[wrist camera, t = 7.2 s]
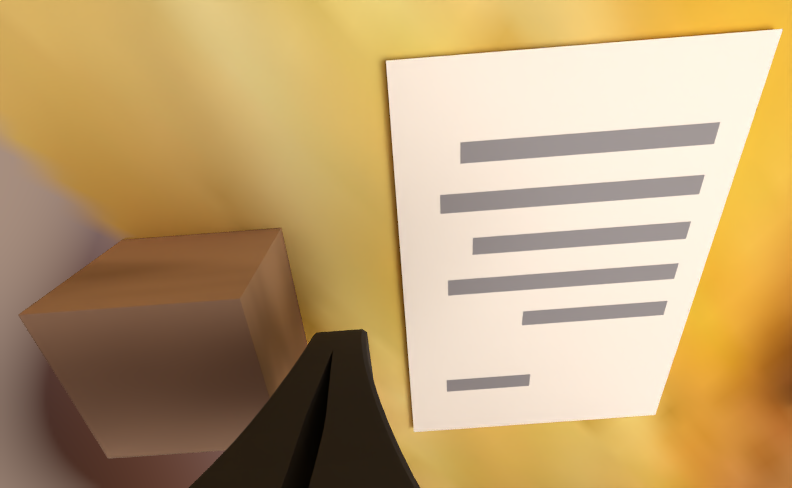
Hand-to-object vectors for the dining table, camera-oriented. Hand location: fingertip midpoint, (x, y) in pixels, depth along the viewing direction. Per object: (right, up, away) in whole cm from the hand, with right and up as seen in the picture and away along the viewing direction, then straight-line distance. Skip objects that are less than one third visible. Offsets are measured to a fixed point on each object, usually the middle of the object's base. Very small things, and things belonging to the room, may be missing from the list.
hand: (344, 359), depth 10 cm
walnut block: (-4, +1, +3) cm, 6 cm away
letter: (+7, +2, +3) cm, 7 cm away
